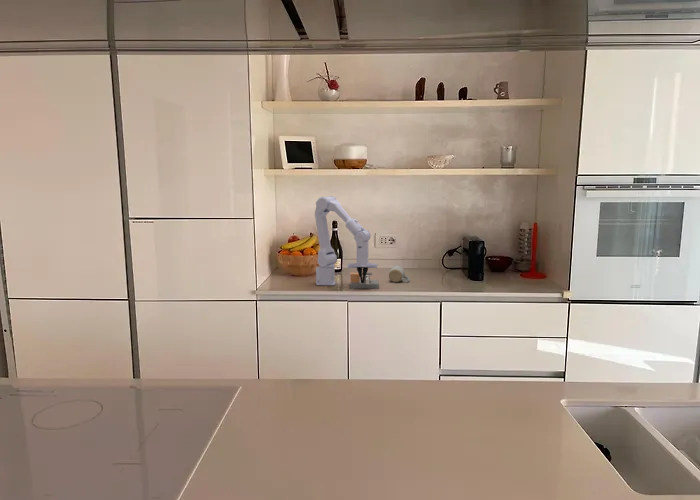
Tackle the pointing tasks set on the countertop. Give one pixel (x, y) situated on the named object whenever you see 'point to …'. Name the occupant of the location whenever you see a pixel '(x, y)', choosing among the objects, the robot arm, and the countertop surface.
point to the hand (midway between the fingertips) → (362, 282)
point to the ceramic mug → (398, 274)
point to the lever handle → (367, 277)
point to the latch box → (363, 285)
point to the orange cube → (355, 277)
